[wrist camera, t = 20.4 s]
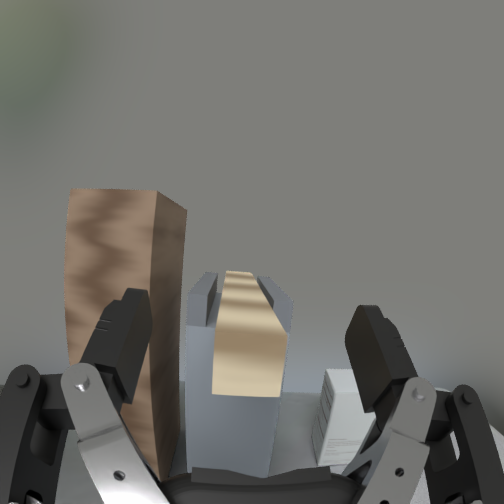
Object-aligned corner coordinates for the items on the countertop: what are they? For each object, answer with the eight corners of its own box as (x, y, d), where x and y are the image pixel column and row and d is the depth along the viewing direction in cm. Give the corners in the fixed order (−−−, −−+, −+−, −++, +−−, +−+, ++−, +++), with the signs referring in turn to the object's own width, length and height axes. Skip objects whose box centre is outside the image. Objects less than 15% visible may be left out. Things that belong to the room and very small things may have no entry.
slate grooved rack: (189, 501, 22) (187, 293, 21) (199, 431, 37) (205, 272, 36) (261, 505, 23) (293, 301, 22) (252, 434, 38) (269, 277, 37)
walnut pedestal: (97, 482, 22) (70, 188, 20) (130, 420, 37) (128, 206, 35) (162, 497, 22) (157, 190, 21) (180, 429, 37) (187, 210, 36)
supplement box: (355, 435, 37) (374, 367, 37) (366, 463, 30) (392, 390, 29) (310, 436, 38) (324, 367, 37) (315, 466, 30) (335, 391, 30)
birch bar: (279, 396, 12) (287, 335, 12) (211, 393, 12) (214, 331, 12) (249, 296, 36) (251, 272, 36) (224, 295, 36) (226, 270, 35)
